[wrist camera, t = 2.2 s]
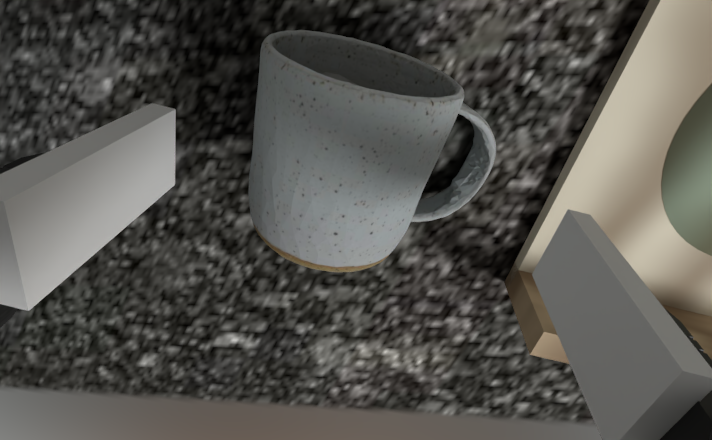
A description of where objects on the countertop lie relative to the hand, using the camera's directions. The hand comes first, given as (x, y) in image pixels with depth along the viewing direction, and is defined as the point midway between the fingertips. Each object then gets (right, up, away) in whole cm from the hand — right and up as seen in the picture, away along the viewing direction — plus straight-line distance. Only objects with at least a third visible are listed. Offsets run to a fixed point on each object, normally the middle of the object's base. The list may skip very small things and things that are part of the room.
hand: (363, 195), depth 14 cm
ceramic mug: (+1, +4, +7) cm, 8 cm away
